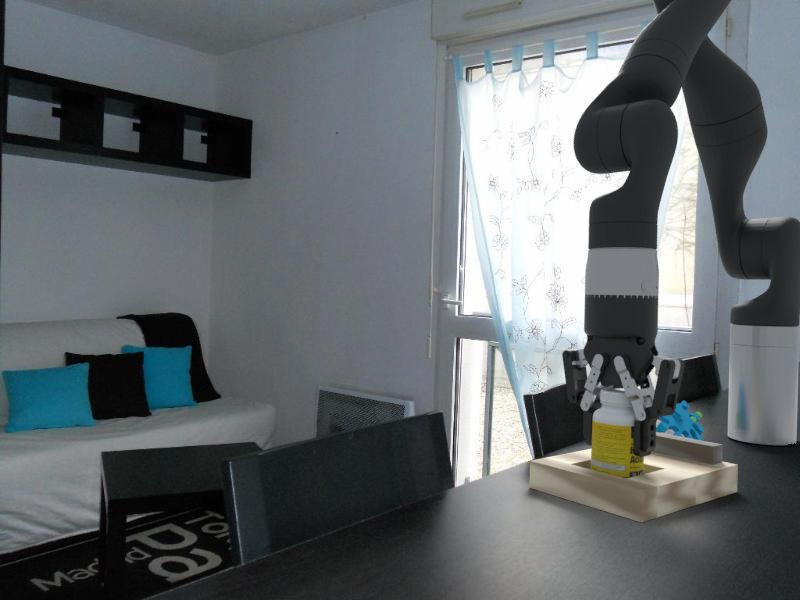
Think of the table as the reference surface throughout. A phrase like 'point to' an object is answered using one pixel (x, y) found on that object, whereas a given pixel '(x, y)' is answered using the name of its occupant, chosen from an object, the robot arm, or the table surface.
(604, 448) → the supplement bottle
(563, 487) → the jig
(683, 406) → the blue lobed piece
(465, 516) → the table surface
